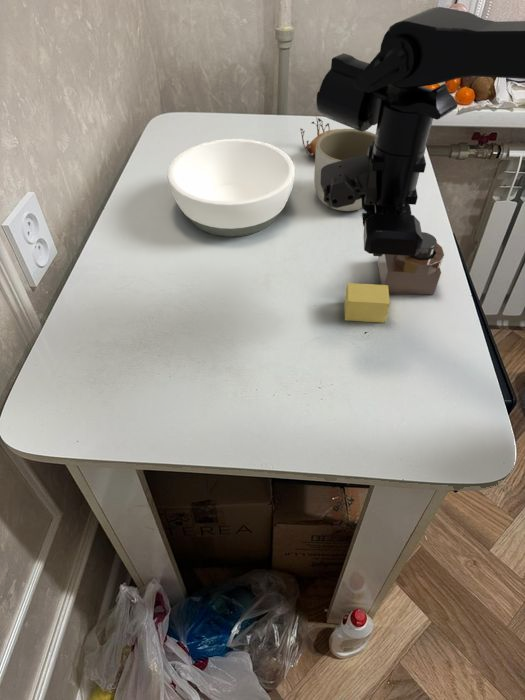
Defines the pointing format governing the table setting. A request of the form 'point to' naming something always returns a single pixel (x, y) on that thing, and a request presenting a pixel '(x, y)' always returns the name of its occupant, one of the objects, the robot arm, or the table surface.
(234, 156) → the bowl
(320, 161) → the planter
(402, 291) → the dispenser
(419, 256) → the dark grey short cylinder
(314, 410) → the table surface
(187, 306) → the table surface
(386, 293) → the yellow block
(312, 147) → the vegetable
